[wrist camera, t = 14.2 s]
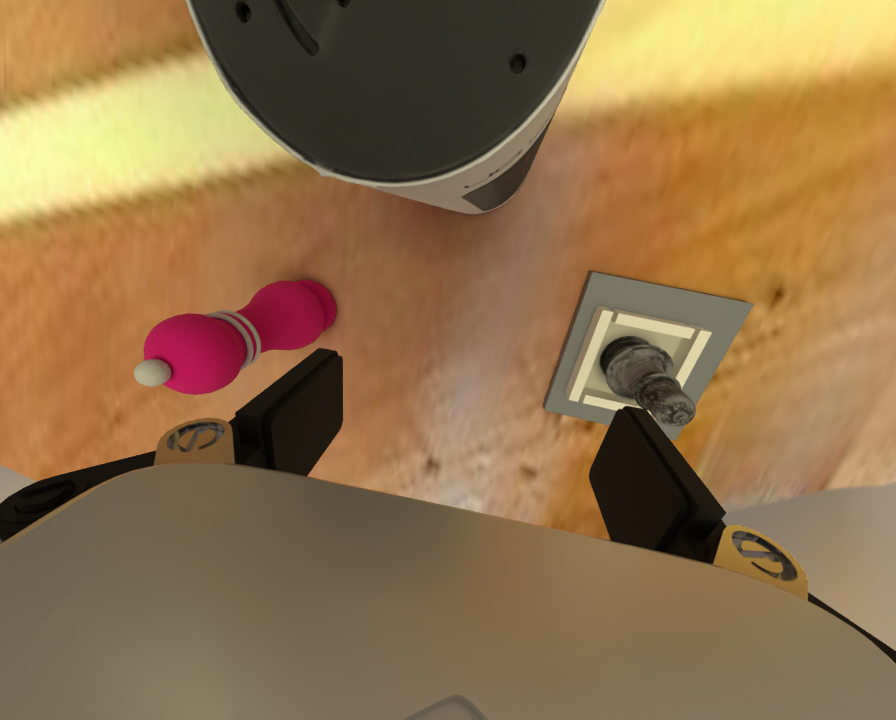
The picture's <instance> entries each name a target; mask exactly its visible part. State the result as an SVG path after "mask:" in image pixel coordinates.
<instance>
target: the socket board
mask: <svg viewBox="0 0 896 720" xmlns="http://www.w3.org/2000/svg"><path fill="white" fill-rule="evenodd" d="M753 305H754V304H753V303H749V302H746V301H741V300H736V299H731V298H726V297H721V296H716V295H711V294H706V293H701V292H696V291H691V290H686V289H680V288H675V287H670V286H665V285H660V284H655V283H650V282H645V281H640V280H635V279H630V278H625V277H620V276H615V275H610V274H604V273H599V272H594V271H589V274H588V277H587V279H586V282H585V285H584V288H583V291H582V294H581V297H580V300H579V302H578V305H577V308H576V311H575V314H574V317H573V320H572V323H571V326H570V328H569V331H568V334H567V337H566V340H565V343H564V346H563V349H562V352H561V354H560V357H559V360H558V363H557V366H556V369H555V372H554V375H553V378H552V380H551V383H550V386H549V389H548V392H547V395H546V398H545V401H544V404H543V407H544V410H545V411H550V412H554V413H558V414H563V415H567V416H571V417H576V418H580V419H584V420H589V421H593V422H597V423H602V424H606V425H610V424H611V422H612V420H613V417H614V415H615V413H616V411H617V410H618V409H622V408H623V407H624V406H632V407H637V408H641V407H640V406H639V405H638V404H637V403H636V401H629V400H626V399H622V398H620V397H618V396H617V395H615V394H614V393H613V392H612V391H611V390H610V388H609V386H608V384H607V379H606V376H605V375H604V374H603V372H602V370H601V368H600V363H599V362H600V356H601V354H602V351H603V350H604V348H605V347H606V346H607V345H608V344H609V343H611V342H612V341H613V340H616V339H618V338H620V337H624V336H636V337H640V338H642V339H644V340H646V341H647V342H648V343H649V344H650V345H653V346H657V347H659V348H661V349H663V350H665V351H666V352H667V353H668V354H669V355H670V356H671V358H672V361H673V363H674V374H673V377H675V378H676V379H677V380H678V381H679V383H680V385H681V389H682V391H683V392H684V393H685V394H686V395H687V396H688V397H690V399H691V400H692V401H693V402H694V404H695V406H696V404H697V402H698V401H699V399H700V397H701V395H702V394H703V392H704V390H705V389H706V387H707V385H708V383H709V382H710V380H711V378H712V376H713V375H714V373H715V371H716V369H717V368H718V366H719V364H720V362H721V361H722V359H723V357H724V355H725V354H726V352H727V350H728V349H729V347H730V345H731V343H732V342H733V340H734V338H735V336H736V335H737V333H738V331H739V329H740V328H741V326H742V324H743V322H744V321H745V319H746V317H747V315H748V314H749V312H750V310H751V309H752V307H753ZM642 409H643V408H642ZM647 411H648V410H647ZM648 412H649V413H650V411H648ZM650 415H651V416H652V417H653V419H654V420H655V421H656V423H657V424H658V425H659V426H660V428H661V429H662V430H663V432H664V433H665V434H666V435H667V437H668V438H669V439H671V440H675V441H676V439H677V437H678V435H679V434H680V432H681V430H682V428H683V427H684V425H683V426H680V427H668V426H665V425H663V424H661V423H660V422H658V421H657V420H656V419H655V417H654V416H653V415H652V414H651V413H650Z"/></svg>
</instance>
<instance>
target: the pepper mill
mask: <svg viewBox="0 0 896 720" xmlns="http://www.w3.org/2000/svg"><path fill="white" fill-rule="evenodd" d="M335 317H336V305H335V301H334V299H333V297H332V295H331V294H330V292H329V291H328V290H327V289H326V288H325V287H324V286H322V285H321V284H319V283H317V282H315V281H312V280H301V281H297V282H292V281H278V282H275V283H272V284H269V285H267V286H265V287H264V288H262V289H261V290H260V291H258V292H257V293H256V294H255V295H254V297H253V298H252V300H251V301H250V303H249V304H248V305H247V306H245V307H244V308H243V309H240V310H238V311H236V312H233V311H229V310H220V311H216V312H214V313H209V314H206V315H201V314H183V315H177V316H174V317H171V318H169V319H166V320H164V321H162V322H160V323H159V324H158V325H157V326H155V327H154V328H153V329H152V330H151V331H150V333H149V335H148V336H147V338H146V340H145V345H144V359H145V361H143V362H141V363H139V364H138V365H137V366H136V368H135V370H134V375H135V378H136V380H137V381H138V382H139V383H141V384H143V385H146V386H158V385H162V384H164V385H165V386H167V387H168V388H170V389H172V390H175V391H178V392H181V393H185V394H193V395H198V394H206V393H211V392H214V391H216V390H219V389H221V388H223V387H225V386H227V385H228V384H230V383H231V382H232V381H233V380H234V379H235V378H236V377H237V375H238V374H239V372H240V370H242V369H244V368H246V367H247V366H249V365H251V364H253V363H254V362H256V360H257V359H258V358H259V355H260V353H263V352H265V351H268V350H294V349H299V348H302V347H305V346H307V345H309V344H311V343H313V342H314V341H315V340H316V339H317V338H318V337H319V336H320V334H321V332H323V331H324V330H326V329H328V328H329V327H330V326H331V325H332V324H333V322H334V320H335Z"/></svg>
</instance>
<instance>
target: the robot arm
mask: <svg viewBox="0 0 896 720" xmlns="http://www.w3.org/2000/svg"><path fill="white" fill-rule="evenodd" d="M235 415H236V417H234V418H233V419H232V420H231V421H229V422H226V421H225V420H221V419H218V418H204V419H196V420H192V421H188V422H185V423H183V424H180V425H178V426H176V427H174V428H172V429H171V430H169V431H167V432H166V433H165V434H164V435H163V436H162V437H161V438H160V440H159V442H158V445H157V450H156V451H153V452H149V453H145V454H141V455H137V456H133V457H129V458H125V459H121V460H117V461H113V462H109V463H105V464H101V465H97V466H93V467H89V468H85V469H81V470H77V471H73V472H69V473H65V474H61V475H57V476H54V477H51V478H47V479H44V480H41V481H38V482H36V483H33V484H31V485H29V486H27V487H25V488H23V489H21V490H19V491H18V492H16V493H14V494H13V495H11V496H9V497H8V498H7V499H5V500H4V501H3V502H2V503H1V504H0V720H896V651H895V650H893V649H892V648H890V647H889V646H887V645H886V644H884V643H883V642H881V641H880V640H878V639H877V638H875V637H874V636H872V635H871V634H869V633H868V632H866V631H865V630H863V629H862V628H860V627H859V626H857V625H856V624H854V623H853V622H851V621H850V620H849V619H847V618H846V617H844V616H843V615H841V614H840V613H838V612H837V611H835V610H834V609H832V608H831V607H829V606H828V605H826V604H825V603H823V602H822V601H820V600H819V599H817V598H816V597H814V596H813V595H811V594H810V593H808V581H807V577H806V574H805V572H804V571H803V569H802V567H801V566H800V564H799V563H798V562H797V561H796V560H795V559H794V558H793V557H792V556H791V555H790V554H789V553H788V552H787V551H786V550H784V549H783V548H782V547H781V546H780V545H778V544H777V543H776V542H774V541H772V540H771V539H769V538H768V537H766V536H765V535H763V534H761V533H759V532H757V531H755V530H752V529H750V528H747V527H744V526H739V525H730V526H727V527H726V525H725V524H724V522H723V521H722V520H721V519H722V518H723V516H724V515H725V514H726V512H725V511H724V509H723V508H722V507H721V505H720V504H719V503H718V502H717V500H716V499H715V498H714V496H713V495H712V494H711V492H710V491H709V490H708V489H707V487H706V486H705V485H704V483H703V482H702V481H701V480H700V478H699V477H698V476H697V474H696V473H695V472H694V470H693V469H692V468H691V467H690V465H689V464H688V463H687V461H686V460H685V459H684V458H683V456H682V455H681V454H680V452H679V451H678V450H677V448H676V447H675V446H674V445H673V443H672V442H671V441H670V439H669V438H668V437H667V435H666V434H665V433H664V432H663V430H662V429H661V428H660V426H659V425H658V424H657V423H656V421H655V420H654V419H653V417H652V416H651V415H650V413H649V412H648V411H647V410H646V409H642V408H637V407H632V406H624V407H623V408H622V409H618V410H617V411H616V413H615V415H614V417H613V420H612V422H611V424H610V426H609V429H608V431H607V433H606V435H605V437H604V440H603V442H602V444H601V446H600V449H599V451H598V453H597V455H596V458H595V460H594V462H593V464H592V467H591V469H590V473H589V479H590V483H591V486H592V488H593V491H594V494H595V497H596V500H597V502H598V505H599V508H600V511H601V514H602V517H603V519H604V522H605V525H606V528H607V531H608V533H609V536H610V539H611V541H609V540H605V539H600V538H596V537H591V536H586V535H582V534H577V533H573V532H568V531H563V530H559V529H554V528H549V527H545V526H540V525H535V524H530V523H526V522H521V521H516V520H512V519H507V518H502V517H498V516H493V515H488V514H483V513H479V512H474V511H469V510H465V509H460V508H455V507H450V506H446V505H441V504H436V503H432V502H427V501H422V500H417V499H413V498H408V497H403V496H399V495H394V494H389V493H384V492H380V491H375V490H370V489H365V488H360V487H355V486H351V485H346V484H341V483H336V482H331V481H326V480H322V479H317V478H312V477H307V476H308V474H309V473H310V471H311V470H312V468H313V467H314V466H315V464H316V463H317V461H318V460H319V459H320V457H321V456H322V454H323V453H324V452H325V450H326V449H327V447H328V446H329V444H330V443H331V442H332V440H333V439H334V437H335V436H336V435H337V433H338V432H339V430H340V429H341V426H342V422H343V359H342V357H341V356H338V353H337V351H333V350H328V349H323V348H319V349H317V350H316V351H314V352H313V353H312V354H311V355H309V356H308V357H307V358H305V359H304V360H303V361H301V362H300V363H299V364H298V365H296V366H295V367H294V368H292V369H291V370H290V371H289V372H287V373H286V374H285V375H283V376H282V377H281V378H280V379H278V380H277V381H276V382H274V383H273V384H272V385H270V386H269V387H268V388H267V389H265V390H264V391H263V392H261V393H260V394H259V395H258V396H256V397H255V398H254V399H252V400H251V401H250V402H249V403H247V404H246V405H245V406H243V407H242V408H241V409H240V410H238V411H237V412H236V413H235Z"/></svg>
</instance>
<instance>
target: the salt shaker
mask: <svg viewBox="0 0 896 720" xmlns="http://www.w3.org/2000/svg"><path fill="white" fill-rule="evenodd" d="M599 363H600V368H601V370H602V372H603V374H604V375H605V376H606V379H607V384H608V386H609V388H610V390H611V391H612V392H613V393H614V394H615V395H617V396H618V397H620V398H622V399H626V400H629V401H636V403H637V404H638V405H639V406H640V407H641V408H643V409H646V410H648V411H650V413H651V414H652V415H653V416H654V417H655V419H656V420H657V421H658V422H660V423H661V424H663V425H665V426H668V427H680V426H683V425H686V424H688V423H689V422H690V421H691V420H692V419H693V417H694V416H695V412H696V407H695V404H694V402H693V401H692V400H691V399H690V397H688V396H687V395H686V394H685V393H684V392H683V391H682V389H681V385H680V383H679V381H678V380H677V379H676V378H675V377H673V374H674V363H673V361H672V358H671V356H670V355H669V354H668V353H667V352H666V351H665V350H663V349H661V348H659V347H657V346H653V345H650V344H649V343H648V342H647V341H646V340H644V339H642V338H640V337H636V336H624V337H620V338H618V339H616V340H613V341H612V342H611V343H609V344H608V345H607V346H606V347H605V348H604V350H603V351H602V354H601V356H600V362H599Z"/></svg>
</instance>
